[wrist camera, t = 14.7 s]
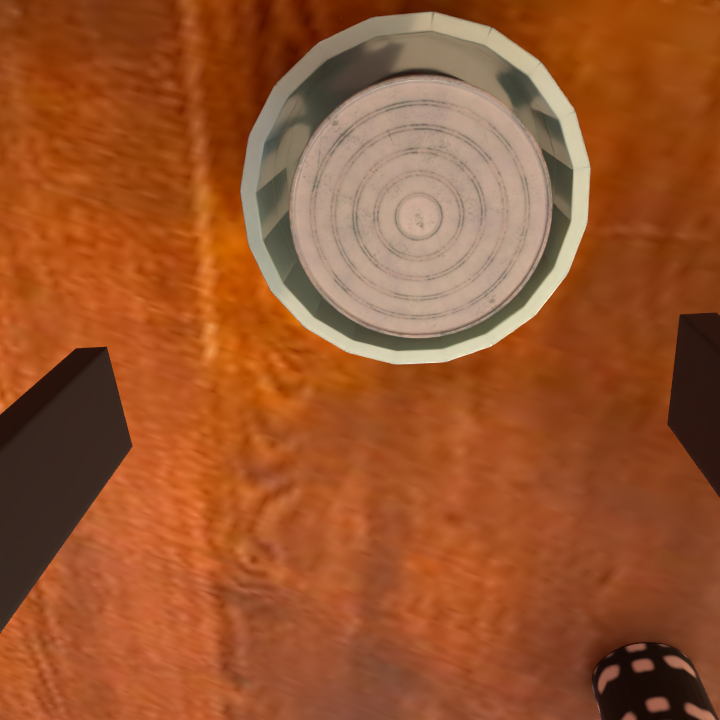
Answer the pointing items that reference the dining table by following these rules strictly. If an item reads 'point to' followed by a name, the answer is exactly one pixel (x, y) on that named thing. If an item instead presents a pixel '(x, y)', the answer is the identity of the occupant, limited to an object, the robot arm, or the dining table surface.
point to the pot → (356, 72)
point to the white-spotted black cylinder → (650, 685)
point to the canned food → (420, 205)
